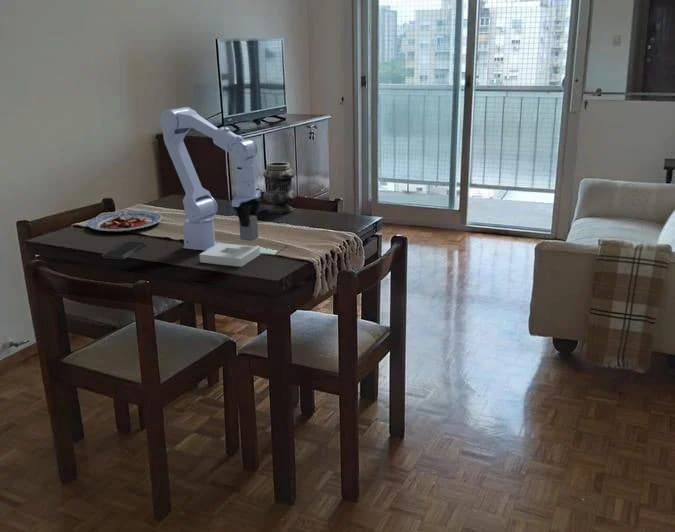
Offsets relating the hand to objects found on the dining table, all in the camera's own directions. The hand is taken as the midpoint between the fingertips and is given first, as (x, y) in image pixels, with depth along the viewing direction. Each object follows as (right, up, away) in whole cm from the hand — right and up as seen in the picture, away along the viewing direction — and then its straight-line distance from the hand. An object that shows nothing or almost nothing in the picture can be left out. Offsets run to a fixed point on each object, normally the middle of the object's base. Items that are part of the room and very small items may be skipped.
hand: (248, 224), depth 213 cm
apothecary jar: (+5, +9, +54) cm, 55 cm away
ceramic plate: (-49, +2, +38) cm, 62 cm away
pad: (+5, -7, +7) cm, 11 cm away
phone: (-40, -9, +8) cm, 42 cm away
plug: (0, -4, +1) cm, 5 cm away
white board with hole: (-5, -10, -1) cm, 12 cm away
